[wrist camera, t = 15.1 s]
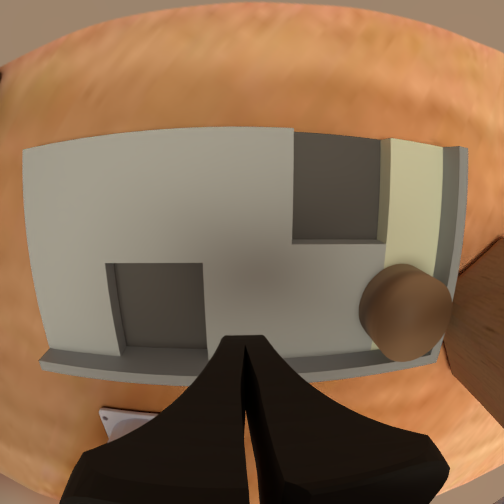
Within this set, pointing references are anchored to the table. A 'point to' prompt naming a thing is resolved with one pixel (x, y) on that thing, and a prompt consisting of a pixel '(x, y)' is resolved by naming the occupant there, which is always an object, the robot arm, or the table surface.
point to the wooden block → (480, 331)
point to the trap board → (231, 245)
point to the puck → (405, 311)
